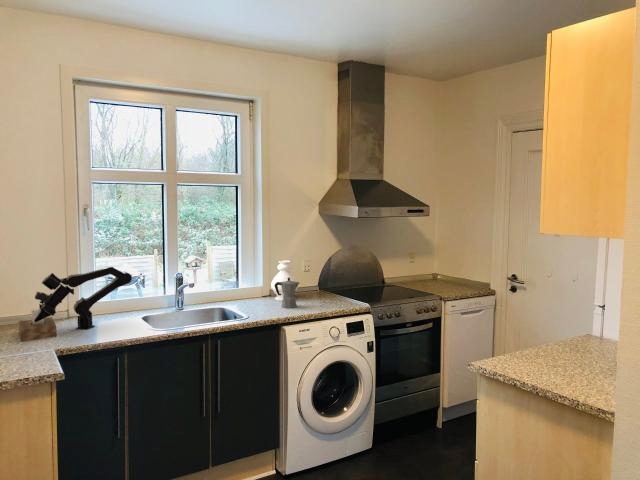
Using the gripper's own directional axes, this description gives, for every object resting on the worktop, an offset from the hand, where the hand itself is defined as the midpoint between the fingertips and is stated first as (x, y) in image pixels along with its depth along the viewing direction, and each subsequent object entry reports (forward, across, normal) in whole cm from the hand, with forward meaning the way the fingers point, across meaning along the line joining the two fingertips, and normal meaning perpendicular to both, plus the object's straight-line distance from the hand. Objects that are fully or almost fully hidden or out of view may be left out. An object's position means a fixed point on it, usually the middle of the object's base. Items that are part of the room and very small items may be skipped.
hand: (34, 320), depth 246 cm
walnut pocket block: (+4, 0, +6) cm, 7 cm away
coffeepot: (-89, +16, +100) cm, 135 cm away
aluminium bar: (+3, 0, +5) cm, 5 cm away
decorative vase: (-97, -6, +107) cm, 145 cm away
